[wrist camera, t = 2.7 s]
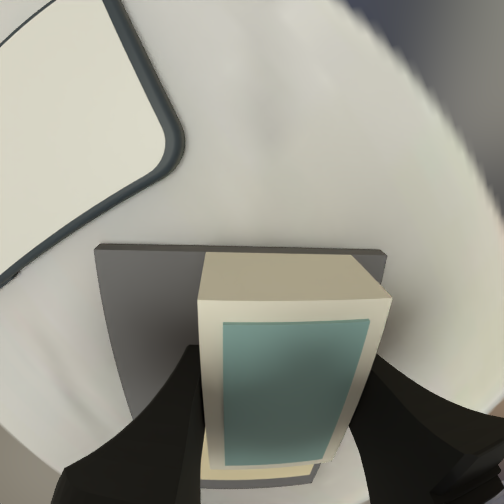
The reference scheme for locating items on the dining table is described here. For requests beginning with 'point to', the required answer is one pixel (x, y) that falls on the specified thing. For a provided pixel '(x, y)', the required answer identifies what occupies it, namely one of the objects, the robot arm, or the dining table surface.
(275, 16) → the dining table surface
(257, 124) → the dining table surface
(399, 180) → the dining table surface
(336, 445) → the card box
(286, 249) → the mat
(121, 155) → the phone case
